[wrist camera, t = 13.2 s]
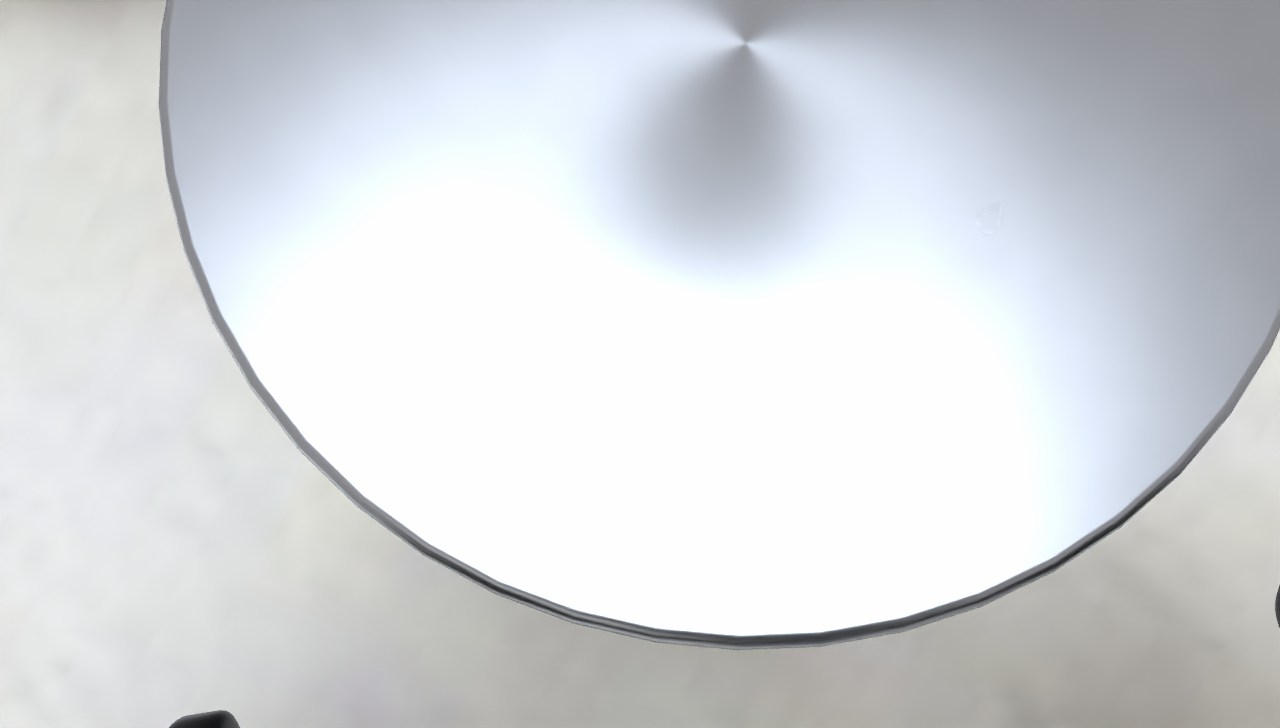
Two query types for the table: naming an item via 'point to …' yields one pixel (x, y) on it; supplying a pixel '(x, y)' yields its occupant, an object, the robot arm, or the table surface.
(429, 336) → the grey upright cylinder
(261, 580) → the table surface
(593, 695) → the table surface
